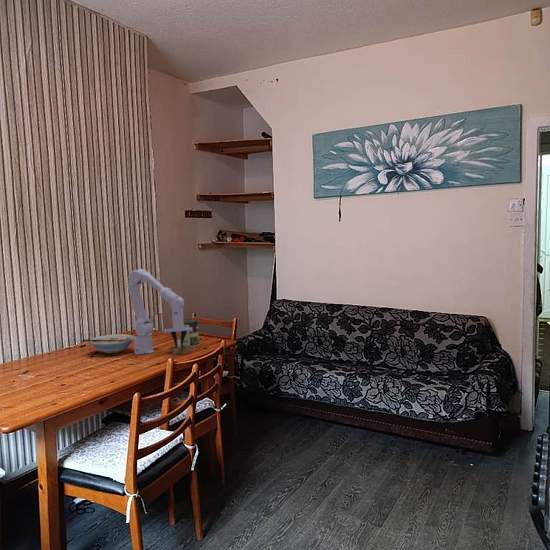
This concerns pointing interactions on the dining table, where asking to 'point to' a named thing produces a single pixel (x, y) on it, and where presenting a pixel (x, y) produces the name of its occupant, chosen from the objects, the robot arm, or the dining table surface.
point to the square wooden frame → (179, 350)
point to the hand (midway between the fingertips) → (178, 345)
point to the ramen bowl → (111, 343)
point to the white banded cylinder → (178, 341)
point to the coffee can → (191, 333)
